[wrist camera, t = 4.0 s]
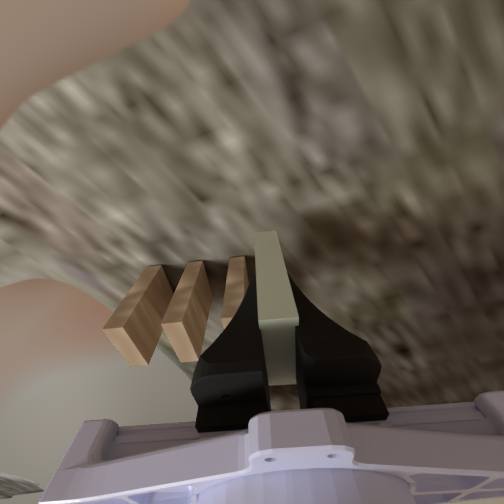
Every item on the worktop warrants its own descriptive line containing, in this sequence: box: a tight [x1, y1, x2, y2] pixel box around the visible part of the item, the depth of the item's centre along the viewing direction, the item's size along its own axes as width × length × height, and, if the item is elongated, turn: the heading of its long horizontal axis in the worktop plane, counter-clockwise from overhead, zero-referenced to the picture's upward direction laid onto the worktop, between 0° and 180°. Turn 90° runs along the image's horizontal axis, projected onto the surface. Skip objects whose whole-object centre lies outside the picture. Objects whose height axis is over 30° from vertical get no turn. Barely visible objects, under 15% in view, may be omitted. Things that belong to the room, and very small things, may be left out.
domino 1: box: [103, 265, 174, 366], centre depth 20 cm, size 2×5×8 cm, turn 6°
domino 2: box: [161, 261, 213, 362], centre depth 20 cm, size 2×5×8 cm, turn 7°
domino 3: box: [221, 256, 249, 329], centre depth 20 cm, size 2×5×8 cm, turn 7°
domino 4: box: [254, 231, 299, 386], centre depth 13 cm, size 2×5×8 cm, turn 5°
